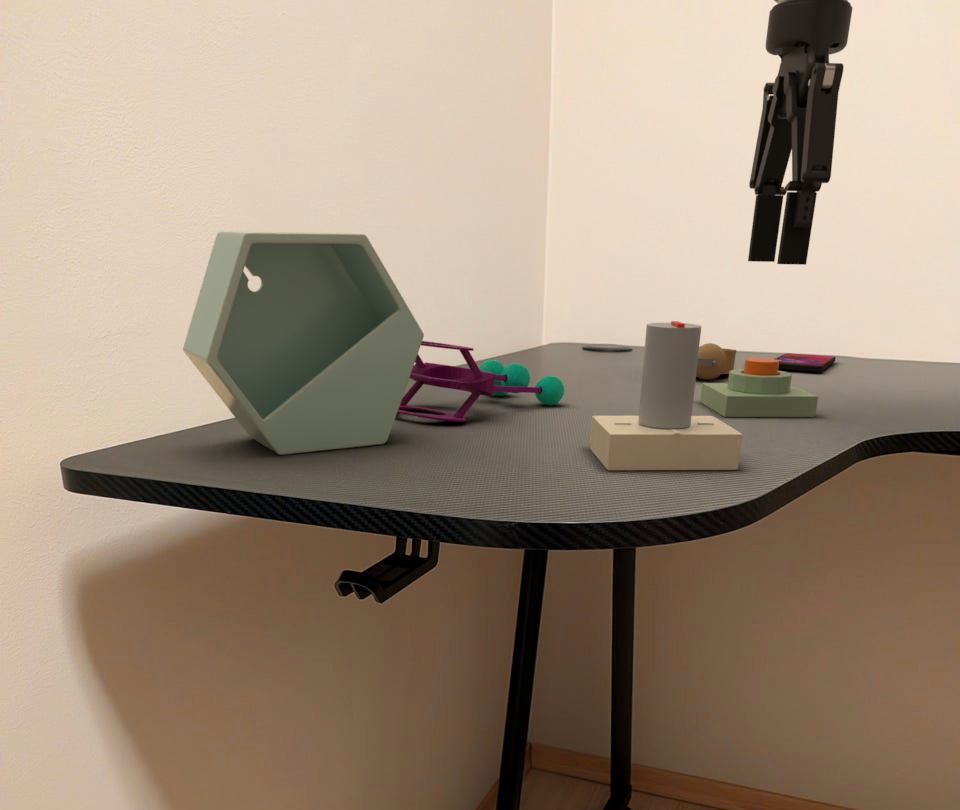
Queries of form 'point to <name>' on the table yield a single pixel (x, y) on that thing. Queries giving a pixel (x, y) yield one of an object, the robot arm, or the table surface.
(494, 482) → the table surface
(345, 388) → the planter
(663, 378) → the cylinder
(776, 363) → the button
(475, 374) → the purple framed piece
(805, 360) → the smartphone
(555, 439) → the table surface
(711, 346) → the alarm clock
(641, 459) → the dial panel
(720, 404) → the button block
